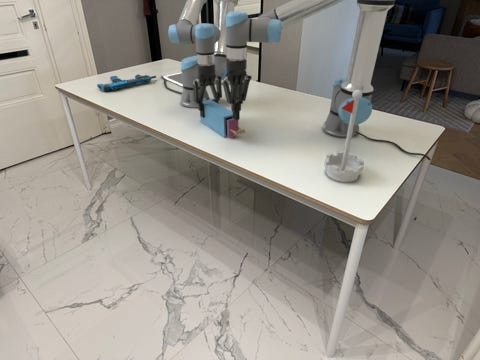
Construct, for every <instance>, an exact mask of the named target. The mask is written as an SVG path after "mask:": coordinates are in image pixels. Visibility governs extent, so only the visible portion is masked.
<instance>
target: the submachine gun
mask: <svg viewBox="0 0 480 360" xmlns="http://www.w3.org/2000/svg"><path fill="white" fill-rule="evenodd" d="M109 79H110V80H111V81H112V82H109V83H105V84H103V83H97V84H96V87H97V88H98V89H99V90H101V91H102V92H106V91H107V92H109V91H117V89H122V88H127V87H131V86H134V85H135V86H136V85H140V84H144V83H145V84H146V83H150V81H152V80H153V79H157V75H152V76H151V75H147V74H144V75H141V74H136V75H134V78H130V79H121V78H119V77H118V75H112V76H110V78H109Z"/></svg>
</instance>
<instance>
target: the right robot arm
mask: <svg viewBox="0 0 480 360" xmlns="http://www.w3.org/2000/svg"><path fill="white" fill-rule="evenodd" d="M344 1H345V0H290V1H288V2H286V3H284V4H282V5H280V6H278V7H276V8H274V9H271V10H269V11H267V12H263V13H261V14H259V16H258V17H257V18H249V17H248V16H249V15H248V13H247V12H246V11H239V10H238V11H237V10H234V12H229V13H228V14H227V15H226V57H227V58H228V59H227V60H226V69H227V74H226V77H225V78H224V79H221V83H222V85H221V86H222V87H223V91H224V95H225V96H224V97H225V99H226V103H228V104H229V105H230V106H231V108H230V111H232V112H233V119H235V120H238V121H239V120H240V117H241V116H240V115H241V113H240V111H242V105H243V104H244V102H246V101H247V100H246V99H247V96H248V91H249V86H250V82H251V81H252V78H253V77H252V75H250V74H248V73H247V68H248V67H247V66H248V65H247V62H248V61H247V58H248V43H262V44H263V43H267V44H277V43H280V42H281V39H282V30H283V29H285V28H288V27H289V26H292V25H294V24H296V23H298V22H300V21H302V20H305V19H307V18H310V17H312V16H313V15H316V14H318V13H320V12H322V11H325V10H326V9H329V8H331V7H333V6H335V5H338V4H340V3H342V2H344ZM395 3H396V0H356V5H357V6H358V8H359V12H358V13H359V14H358V18H357V24H356V29H355V35H354V38H353V43H352V50H351V55H350V60H349V64H348V70H347V75H346V76H343V77H337V78H335V79H334V82H333V85H332V87H333V88H332V93H331V101H330V107H329V112H328V115H327V117H326V120H325V121H324V122H323V124H322V130H323V132H324V133H325V134H326V135H329V136H332V137H335V138H339V139H341V138H342V139H346V138H347V133H348V127H349V122H350V117H351V113H350V112H348V111H346V110H343V109H341V108H342V107H344V106H345V105H347V104H348V103H350V102H351V101H353V100H354V98H353V97H352V94H353V92H354V91H355V90H360V91H361V92H362V97H361V98H360V99H359V101H358V107H357V112H356V117H355V122H354V127H353V132H352V137H351V138H354V137H356V136H357V135H359V136H362V137H363V138H365V139H367V140H369V141H371V142H379V143H380V142H381V143H388V144H391V145H393V146H394V147H395V146H396V148H397V149H399V150H400V151H401V152H402V153H405V154H407V155H410V156H411V155H412V156H421V157H425V158H426V159H427V160H428V161H432V160H431V158H430V156H428V155H427V154H425V153H421V152H410V151H407V150H405V149H404V148H402V147H401V146H400V145H399V144H397V143H395V142H394V141H391V140H386V139H377V138H371V137H369V136H367V135H365V134H363V133H361V132H360V125H361V124H363V123H365V122H367V120H368V119H369V118H370V117H371V115H372V113H373V104H372V102H371V101H372V98H373V94H374V87H373V85H372V79H373V74H374V70H375V65H376V62H377V57H378V54H379V53H378V52H379V49H380V45H381V40H382V37H383V32H384V27H385V24H386V19H387V14H388V11H389V10H391V9H392V8H393V7H394V6H395ZM228 81H229V82H230V85H228V83H229V82H228ZM417 218H418V217H417V216H416V217H414V218H413V221H417Z"/></svg>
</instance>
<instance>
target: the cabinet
mask: <svg viewBox="0 0 480 360" xmlns="http://www.w3.org/2000/svg"><path fill="white" fill-rule="evenodd" d="M202 103H203V104H204V114H205V118H203V117H201V116H200V115H199V117H200V118H199V120H200V122H201V123H202V124H204V125H205V126H207V127H208V128H210V129H211V130H212V131H214V132H216V133H217V134H219V135H220V136H221V137H223V138H229V137H228V136H227V134H226V120H225V118H229V117H233V112H232V111H231V109H229V108H227V107H225V106H223V105H221V104H220V103H219V104H218V103H216V102H214V101H213V99H210V100H206V101H202Z"/></svg>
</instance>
